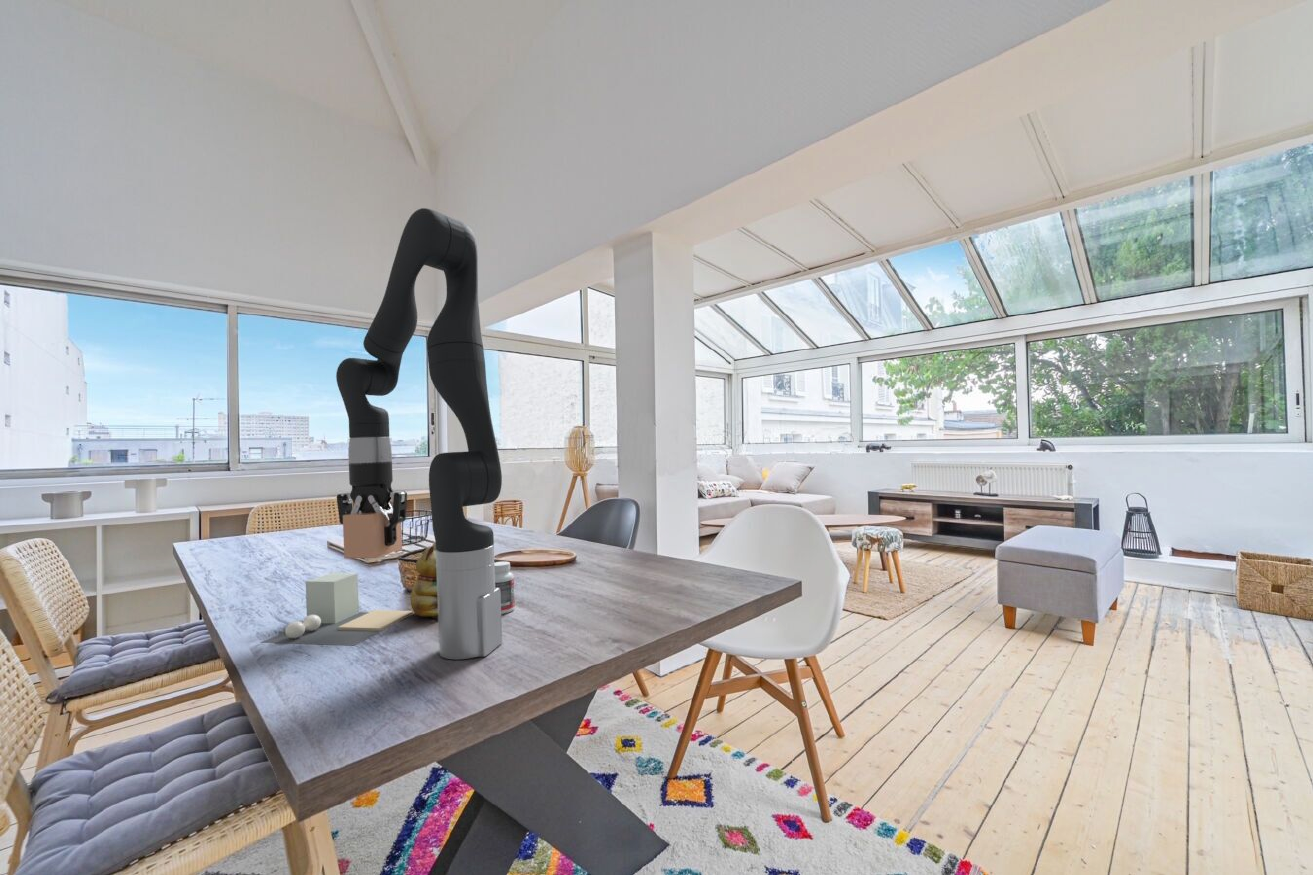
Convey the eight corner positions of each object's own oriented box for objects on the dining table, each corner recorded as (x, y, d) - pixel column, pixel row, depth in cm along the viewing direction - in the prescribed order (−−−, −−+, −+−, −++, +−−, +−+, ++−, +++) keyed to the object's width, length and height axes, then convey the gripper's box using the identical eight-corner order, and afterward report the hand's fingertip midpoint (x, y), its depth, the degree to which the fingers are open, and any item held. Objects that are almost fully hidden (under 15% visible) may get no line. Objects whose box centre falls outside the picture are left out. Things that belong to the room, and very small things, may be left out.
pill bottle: (518, 611, 109) (516, 563, 109) (492, 617, 106) (490, 568, 106) (510, 605, 114) (508, 559, 114) (484, 610, 111) (483, 563, 111)
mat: (415, 615, 109) (414, 611, 109) (354, 647, 92) (354, 642, 92) (333, 613, 113) (333, 609, 113) (260, 644, 96) (260, 639, 96)
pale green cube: (358, 612, 111) (357, 573, 111) (335, 623, 105) (333, 581, 105) (331, 612, 112) (330, 573, 112) (307, 622, 106) (305, 581, 106)
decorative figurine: (443, 623, 104) (440, 546, 104) (401, 624, 104) (398, 547, 104) (461, 607, 113) (459, 537, 113) (423, 609, 113) (420, 538, 113)
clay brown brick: (402, 549, 108) (400, 508, 109) (374, 558, 100) (372, 514, 100) (374, 549, 110) (372, 509, 110) (344, 558, 101) (342, 515, 102)
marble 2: (325, 628, 102) (324, 612, 102) (312, 634, 99) (312, 617, 99) (311, 628, 103) (311, 612, 103) (298, 633, 100) (298, 617, 100)
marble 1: (309, 635, 98) (308, 619, 98) (295, 641, 95) (295, 624, 95) (295, 635, 99) (294, 618, 99) (281, 641, 96) (280, 624, 96)
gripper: (415, 458, 108) (418, 541, 107) (352, 461, 110) (355, 542, 110) (391, 460, 100) (394, 549, 100) (323, 462, 103) (326, 549, 102)
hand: (373, 545), depth 105 cm, fingers closed on clay brown brick, 6 cm apart
